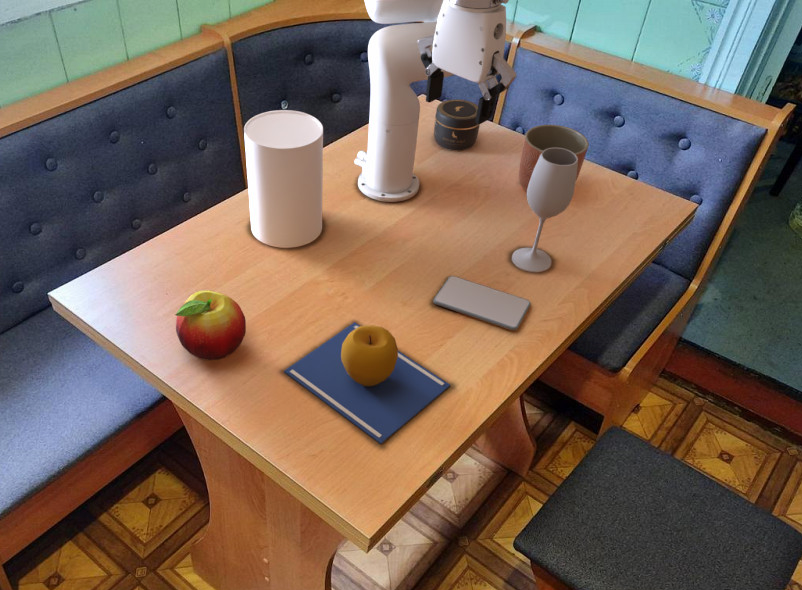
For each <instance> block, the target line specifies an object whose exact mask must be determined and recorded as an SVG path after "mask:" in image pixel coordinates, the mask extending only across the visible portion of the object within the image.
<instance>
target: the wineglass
mask: <svg viewBox="0 0 802 590" xmlns="http://www.w3.org/2000/svg"><path fill="white" fill-rule="evenodd" d="M577 167H578V157H577V156H576V154H574V153H573V152H571V151H569V150H567V149H563V148H548V149H545V150H544V151H543V152H542V153H541V155H540V157H539V159H538V161H537V163H536V166H535V168H534V171H533V173H532V176H531V178H530V181H529V184H528V189H527V191H526V200H527V204H528V207H530V210H531V211H532V213H534V214H535V215H536V216H537V217H538V219H539V222H538V223H539V224H538V227H537V230H536V234H535V238H534V242H533V245H532V247H521V248H517V249H516V250H514V251H513V253H512V255H511V261H512V264H514V265H515V266H516V267H517V268H518V269H520V270H522V271H525V272H528V273H543V272H545V271H548V270H549V269H550V268H551V266H552V262H553V261H552V258H551V257H550V255H549V254H547V252H545V251H543V250H541V249H538V245H539V242H540V239H541V234H542V231H543V227H544V224H545V222H546V220H548V219H551V218H554V217H556V216H558V215H560V214H562V213H563V212H565V210H566V209H567V208H568V207H569V205H570V204H571V202H572V200H573V197H574V193H575V188H576V182H577V180H576V176H577Z"/></svg>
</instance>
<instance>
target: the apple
mask: <svg viewBox="0 0 802 590" xmlns="http://www.w3.org/2000/svg"><path fill="white" fill-rule="evenodd" d="M398 351H399V349H398V345H397V341H396V338H395V337H394V335H393V334H392V332H390V331H389V330H388V329H386V328H384V327H382V326H379V325H374V324H369V325H360V327H358V328H356V329H355V330H353V331H351V332H350V334H349V335H348V336H347V337H346V339H345V340H344V342H343V344H342V350H341V360H342V363H343V365H344V367H345V369H346V372H347V373H348V375H349V376H350V377H351V378H352V379H353V380H354V381H355V382H357V383H359V384H361V385H363V386H374V385H377V384H379V383H381V382H383V381H384V380H386V379H387V378H388V377H389V376H390V375H391V373H392V372H393V370H394V368H395V364H396V361H397V358H398Z"/></svg>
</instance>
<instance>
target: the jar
mask: <svg viewBox="0 0 802 590" xmlns="http://www.w3.org/2000/svg"><path fill="white" fill-rule="evenodd" d="M477 109H478V104H476V103H474V102H472V101H469V100H465V99H458V98H457V99H456V98H455V99H454V98H453V99H447V100H444V101H442V102H440V103H439V104H438V105H437V106H436V111H435V116H434V119H435V120H434V129H433V135H434V141H435V142H436V144H437V145H438V146H439V147H441V148H442V149H446V150H449V151H456V152H457V151H459V152H460V151H467V150H469V149H470V148H472V147H473V146H474V145H475V144H476V142H477V139H478V137H479V132H480V126H481V124H477V123H476V115H477Z"/></svg>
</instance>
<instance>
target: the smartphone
mask: <svg viewBox="0 0 802 590" xmlns="http://www.w3.org/2000/svg"><path fill="white" fill-rule="evenodd" d="M433 304H434V305H437V306H439V307H442V308H445V309H448V310H450V311H453V312H457V313H460V314H463V315H465V316H469V317H472V318H474V319H477V320H481V321H483V322H486V323H489V324H492V325H495V326H497V327H501V328H504V329H507V330H509V331H516V330H518V329H519V327H520V325H521V323H522V321H523V319H524V318H525V316H526V314H527V312H528V310H529V309H530V307H531V304H532V303H531V301H530V300H529V299H526V298H523V297H521V296H518V295H515V294H511V293H508V292H505V291H502V290H499V289H496V288H493V287H489V286H486V285H483V284H481V283H478V282H474V281H471V280H468V279H465V278H462V277H459V276H455V275H450V276H448V278H447V279H446V280H445V282H444V284H443V285H442V286H441V287H440V289H439V291H438V292H437V294H436V295H435V296H434V298H433Z"/></svg>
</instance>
